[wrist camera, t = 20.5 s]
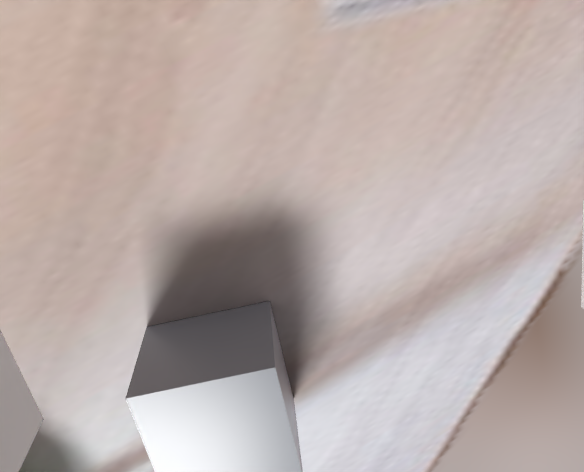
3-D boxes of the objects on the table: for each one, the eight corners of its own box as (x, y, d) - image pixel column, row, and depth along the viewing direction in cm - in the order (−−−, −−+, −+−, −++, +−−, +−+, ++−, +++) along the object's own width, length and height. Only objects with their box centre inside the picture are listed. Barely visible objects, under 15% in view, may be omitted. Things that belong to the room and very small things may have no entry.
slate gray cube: (269, 301, 45) (275, 367, 37) (293, 399, 49) (303, 477, 41) (146, 326, 45) (125, 398, 37) (180, 422, 49) (168, 505, 41)
